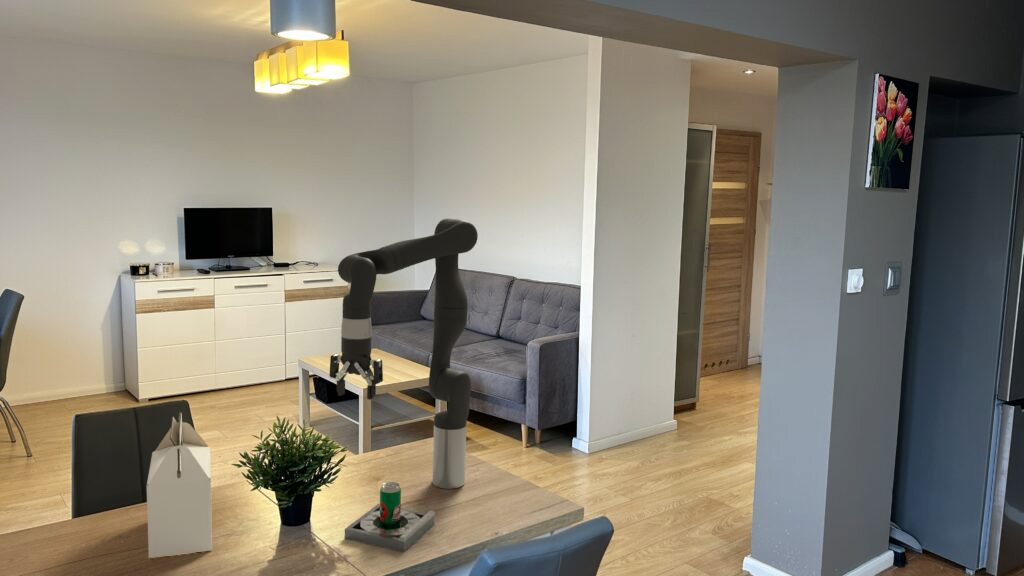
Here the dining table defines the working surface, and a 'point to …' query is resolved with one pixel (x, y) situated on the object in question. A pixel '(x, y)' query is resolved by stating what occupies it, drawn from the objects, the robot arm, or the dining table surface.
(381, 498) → the soda can
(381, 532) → the jig
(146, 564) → the dining table surface
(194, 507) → the gable box
